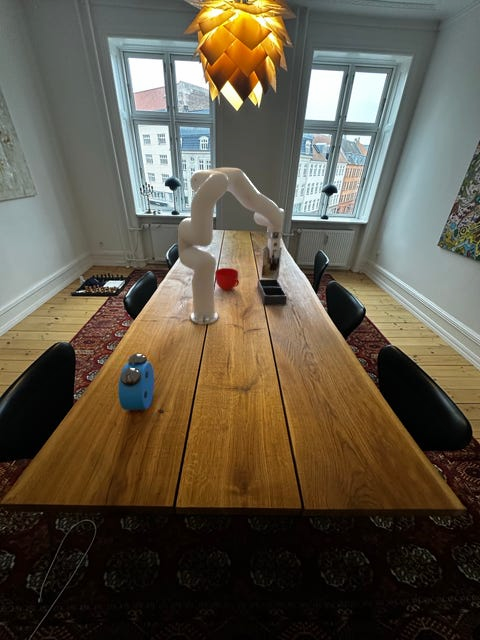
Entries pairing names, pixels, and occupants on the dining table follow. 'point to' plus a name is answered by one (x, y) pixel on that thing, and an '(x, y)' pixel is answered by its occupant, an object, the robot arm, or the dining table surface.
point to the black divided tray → (271, 292)
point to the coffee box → (266, 265)
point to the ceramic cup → (226, 278)
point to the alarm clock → (136, 383)
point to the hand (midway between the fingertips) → (271, 267)
